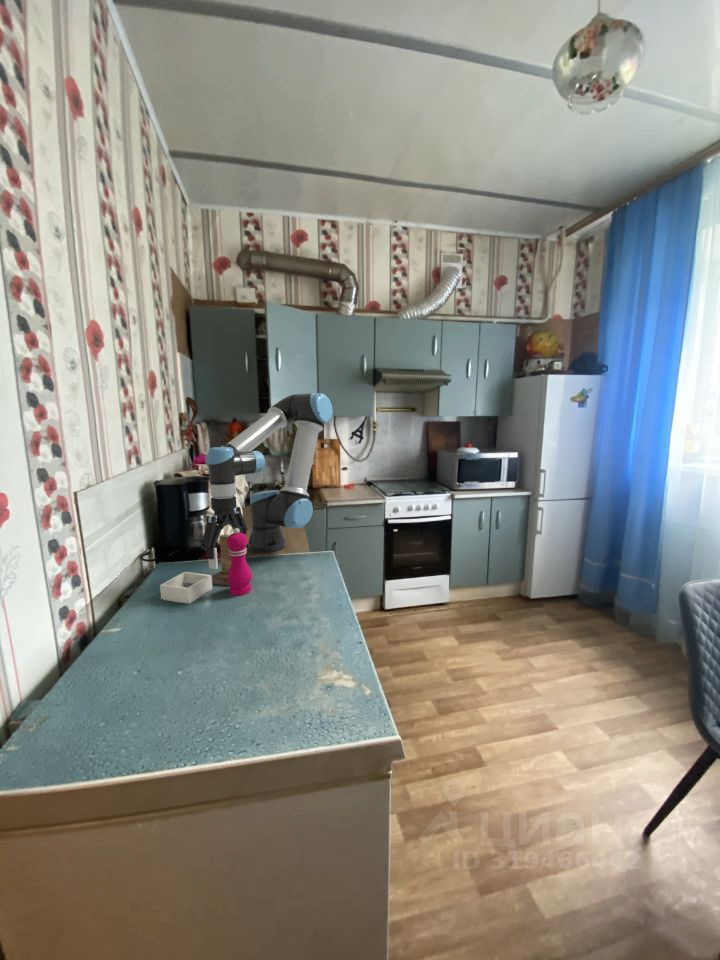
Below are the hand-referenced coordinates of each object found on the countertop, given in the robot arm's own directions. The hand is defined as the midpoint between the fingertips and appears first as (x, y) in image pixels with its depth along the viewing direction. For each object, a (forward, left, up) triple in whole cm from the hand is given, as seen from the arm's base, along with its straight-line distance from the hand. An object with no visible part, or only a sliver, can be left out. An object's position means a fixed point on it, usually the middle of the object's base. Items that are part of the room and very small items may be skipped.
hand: (227, 560), depth 121 cm
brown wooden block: (0, 0, -7) cm, 7 cm away
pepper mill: (+6, +8, -7) cm, 12 cm away
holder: (0, 0, -7) cm, 7 cm away
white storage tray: (+12, -6, -7) cm, 15 cm away
